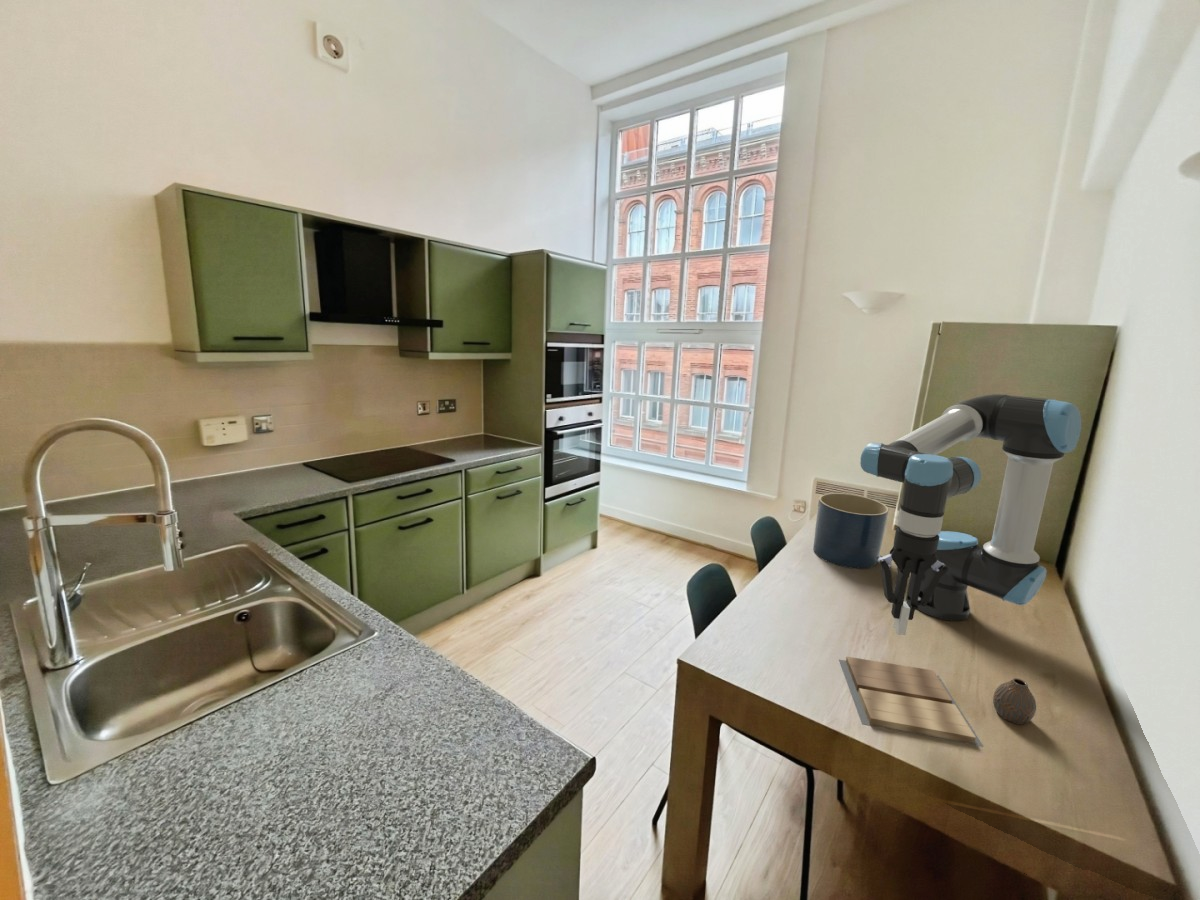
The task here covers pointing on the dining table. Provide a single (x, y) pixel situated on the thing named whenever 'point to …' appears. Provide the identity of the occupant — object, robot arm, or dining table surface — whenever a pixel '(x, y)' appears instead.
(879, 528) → the planter
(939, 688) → the laid board
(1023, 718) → the vase
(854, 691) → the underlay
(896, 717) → the plank
